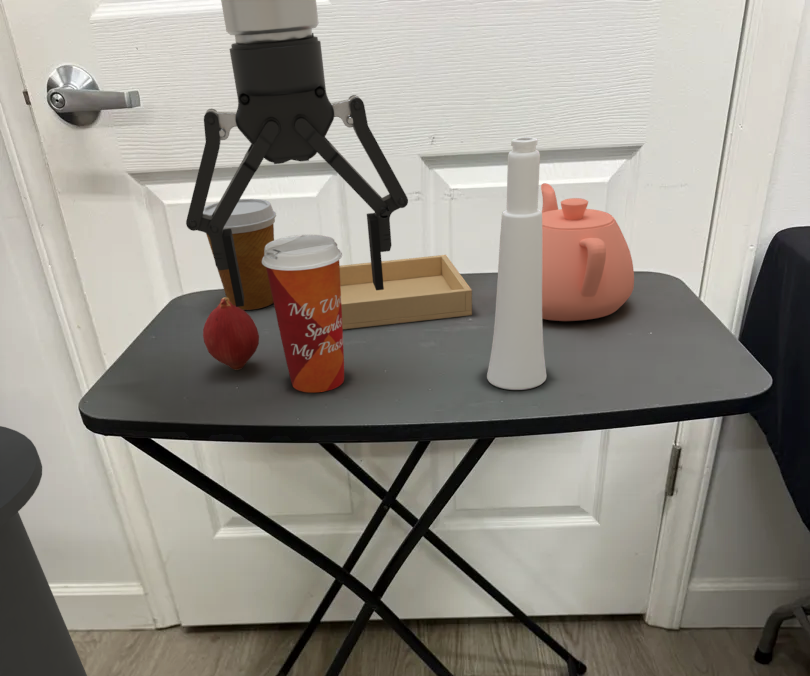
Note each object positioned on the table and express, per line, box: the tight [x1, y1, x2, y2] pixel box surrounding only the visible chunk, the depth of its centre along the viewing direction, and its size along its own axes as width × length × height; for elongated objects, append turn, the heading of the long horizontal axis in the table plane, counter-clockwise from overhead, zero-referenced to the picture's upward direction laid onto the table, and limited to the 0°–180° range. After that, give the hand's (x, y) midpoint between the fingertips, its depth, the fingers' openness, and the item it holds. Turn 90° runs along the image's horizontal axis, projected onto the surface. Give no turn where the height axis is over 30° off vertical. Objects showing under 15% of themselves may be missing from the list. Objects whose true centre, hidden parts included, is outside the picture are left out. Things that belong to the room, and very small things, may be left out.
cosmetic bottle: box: [486, 136, 548, 391], centre depth 72 cm, size 6×6×22 cm
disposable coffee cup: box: [203, 198, 277, 311], centre depth 99 cm, size 10×10×12 cm
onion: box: [202, 296, 260, 371], centre depth 83 cm, size 6×6×8 cm
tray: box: [340, 254, 473, 330], centre depth 99 cm, size 20×16×3 cm
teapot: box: [540, 182, 635, 322], centre depth 92 cm, size 22×15×12 cm
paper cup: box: [262, 234, 345, 393], centre depth 77 cm, size 8×8×14 cm
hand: (309, 294), depth 76 cm, fingers open, 13 cm apart
